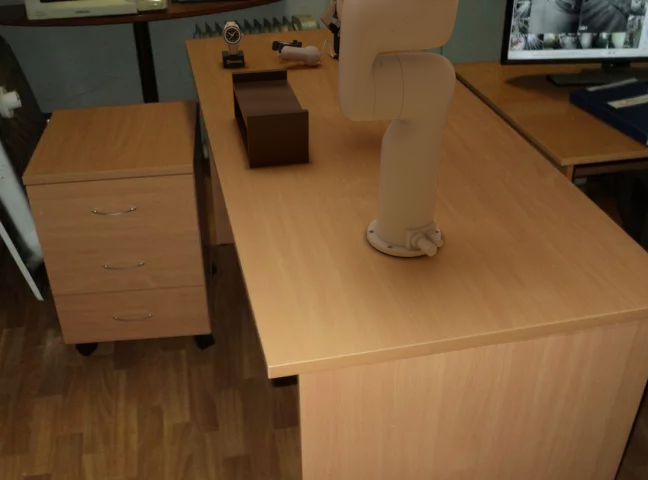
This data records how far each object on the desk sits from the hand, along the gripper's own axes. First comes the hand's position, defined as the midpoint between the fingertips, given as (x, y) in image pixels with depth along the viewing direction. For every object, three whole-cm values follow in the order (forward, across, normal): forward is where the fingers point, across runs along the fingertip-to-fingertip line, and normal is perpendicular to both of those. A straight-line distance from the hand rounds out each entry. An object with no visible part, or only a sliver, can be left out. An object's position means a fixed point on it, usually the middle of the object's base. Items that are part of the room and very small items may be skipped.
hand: (355, 51), depth 148 cm
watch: (+18, -4, +52) cm, 55 cm away
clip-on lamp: (+18, +15, +45) cm, 51 cm away
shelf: (+18, -17, +6) cm, 26 cm away
